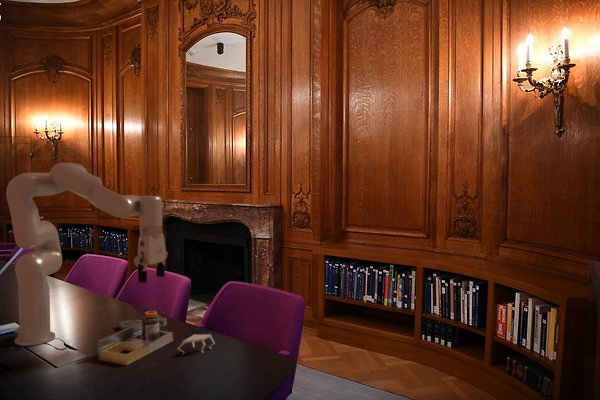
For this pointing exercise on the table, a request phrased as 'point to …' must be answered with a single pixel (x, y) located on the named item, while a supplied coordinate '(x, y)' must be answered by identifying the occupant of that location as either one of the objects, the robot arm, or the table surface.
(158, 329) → the pill bottle
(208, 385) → the table surface
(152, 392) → the table surface
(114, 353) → the two-compartment cubby organizer
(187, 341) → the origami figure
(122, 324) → the graphics card
